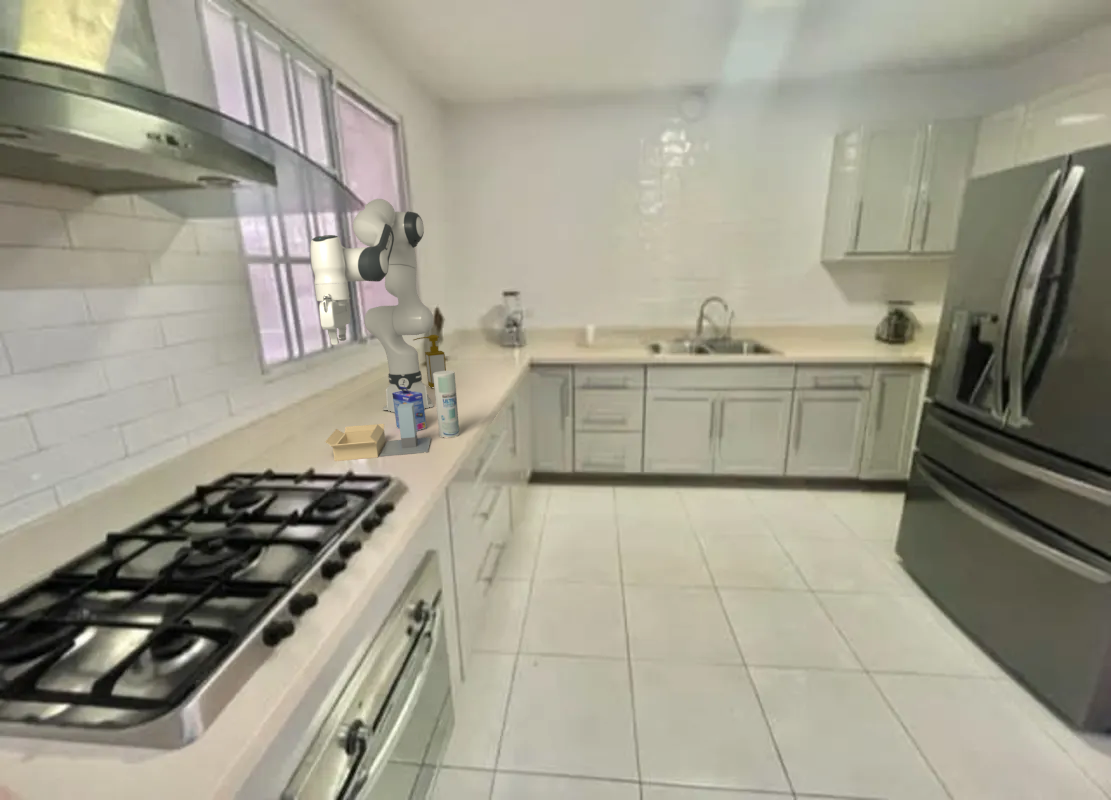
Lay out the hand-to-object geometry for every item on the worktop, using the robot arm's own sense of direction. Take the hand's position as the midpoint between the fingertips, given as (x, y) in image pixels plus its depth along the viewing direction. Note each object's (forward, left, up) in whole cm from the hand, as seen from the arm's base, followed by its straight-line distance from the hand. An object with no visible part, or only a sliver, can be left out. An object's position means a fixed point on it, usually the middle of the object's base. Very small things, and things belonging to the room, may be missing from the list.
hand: (339, 342), depth 158 cm
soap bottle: (-82, +18, -31) cm, 90 cm away
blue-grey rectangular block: (+8, +18, -30) cm, 36 cm away
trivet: (+8, +17, -31) cm, 36 cm away
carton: (+8, +4, -31) cm, 32 cm away
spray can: (-1, +29, -31) cm, 43 cm away
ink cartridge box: (-13, +16, -31) cm, 38 cm away
